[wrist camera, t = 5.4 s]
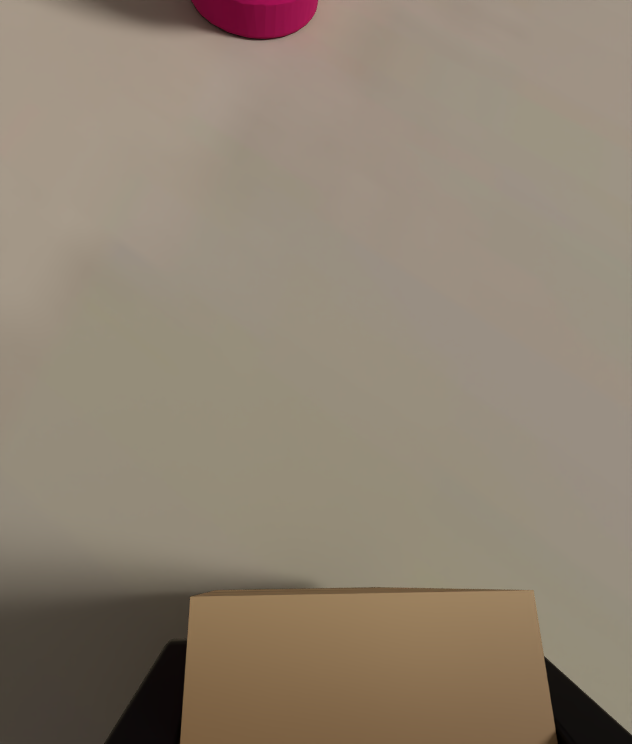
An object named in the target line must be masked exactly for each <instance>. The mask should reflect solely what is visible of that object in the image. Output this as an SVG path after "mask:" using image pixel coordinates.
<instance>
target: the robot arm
mask: <svg viewBox="0 0 632 744" xmlns="http://www.w3.org/2000/svg"><path fill="white" fill-rule="evenodd" d="M186 652H187V639H172V640H170V641H169V642H168V643H167V644H166V645H165V647H164V648H163V650H162V652H161V653H160V655H159V657H158V658H157V660H156V661H155V663H154V665H153V666H152V668H151V669H150V671H149V673H148V674H147V676H146V677H145V679H144V681H143V682H142V684H141V685H140V687H139V689H138V690H137V692H136V693H135V695H134V697H133V698H132V700H131V701H130V703H129V705H128V706H127V708H126V709H125V711H124V713H123V714H122V716H121V717H120V719H119V721H118V722H117V724H116V726H115V727H114V729H113V730H112V732H111V734H110V735H109V737H108V738H107V740H106V742H105V743H104V744H180V738H181V723H182V709H183V695H184V680H185V666H186ZM544 660H545V667H546V673H547V679H548V686H549V692H550V698H551V705H552V711H553V717H554V724H555V730H556V736H557V743H558V744H632V735H631V734H630V733H629V732H628V731H627V730H626V729H624V728H623V727H622V726H621V725H620V724H619V723H618V722H617V721H616V720H614V719H613V718H612V717H611V716H610V715H609V714H608V713H607V712H606V711H604V710H603V709H602V708H601V707H600V706H599V705H598V704H597V703H596V702H594V701H593V700H592V699H591V698H590V697H589V696H588V695H587V694H586V693H584V692H583V691H582V690H581V689H580V688H579V687H578V686H577V685H576V684H574V683H573V682H572V681H571V680H570V679H569V678H568V677H567V676H566V675H564V674H563V673H562V672H561V671H560V670H559V669H558V668H557V667H556V666H555V665H553V664H552V663H551V662H550V661H549V660H548V659H547V658H546V657H545V656H544Z"/></svg>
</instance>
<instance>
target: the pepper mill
mask: <svg viewBox="0 0 632 744" xmlns="http://www.w3.org/2000/svg"><path fill="white" fill-rule="evenodd" d="M191 1H192V3H193V4H194V6H195V7H196V9H197V10H198V11H199V13H200V14H201V15H202V16H203V17H204V18H206V19H207V20H208V21H209V22H210V23H212V24H213V25H215V26H217V27H219V28H221V29H223V30H225V31H227V32H229V33H233V34H236V35H240V36H244V37H247V38H257V39H269V38H277V37H284V36H286V35H289V34H291V33H294V32H296V31H298V30H299V29H301V28H302V27H304V26H305V25H306V24H307V23H308V22H309V21H310V20H311V19H312V17H313V15H314V14H315V12H316V9H317V4H318V0H191Z"/></svg>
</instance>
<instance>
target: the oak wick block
mask: <svg viewBox="0 0 632 744" xmlns="http://www.w3.org/2000/svg"><path fill="white" fill-rule="evenodd" d="M180 744H558V743H557V736H556V730H555V724H554V717H553V711H552V705H551V698H550V692H549V686H548V679H547V673H546V667H545V660H544V654H543V648H542V641H541V635H540V629H539V622H538V616H537V610H536V603H535V597H534V591H533V590H493V589H438V588H384V587H371V588H313V589H254V590H215V591H211V592H207V593H203V594H199V595H195V596H191V597H190V609H189V623H188V637H187V652H186V666H185V680H184V695H183V709H182V723H181V738H180Z"/></svg>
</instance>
